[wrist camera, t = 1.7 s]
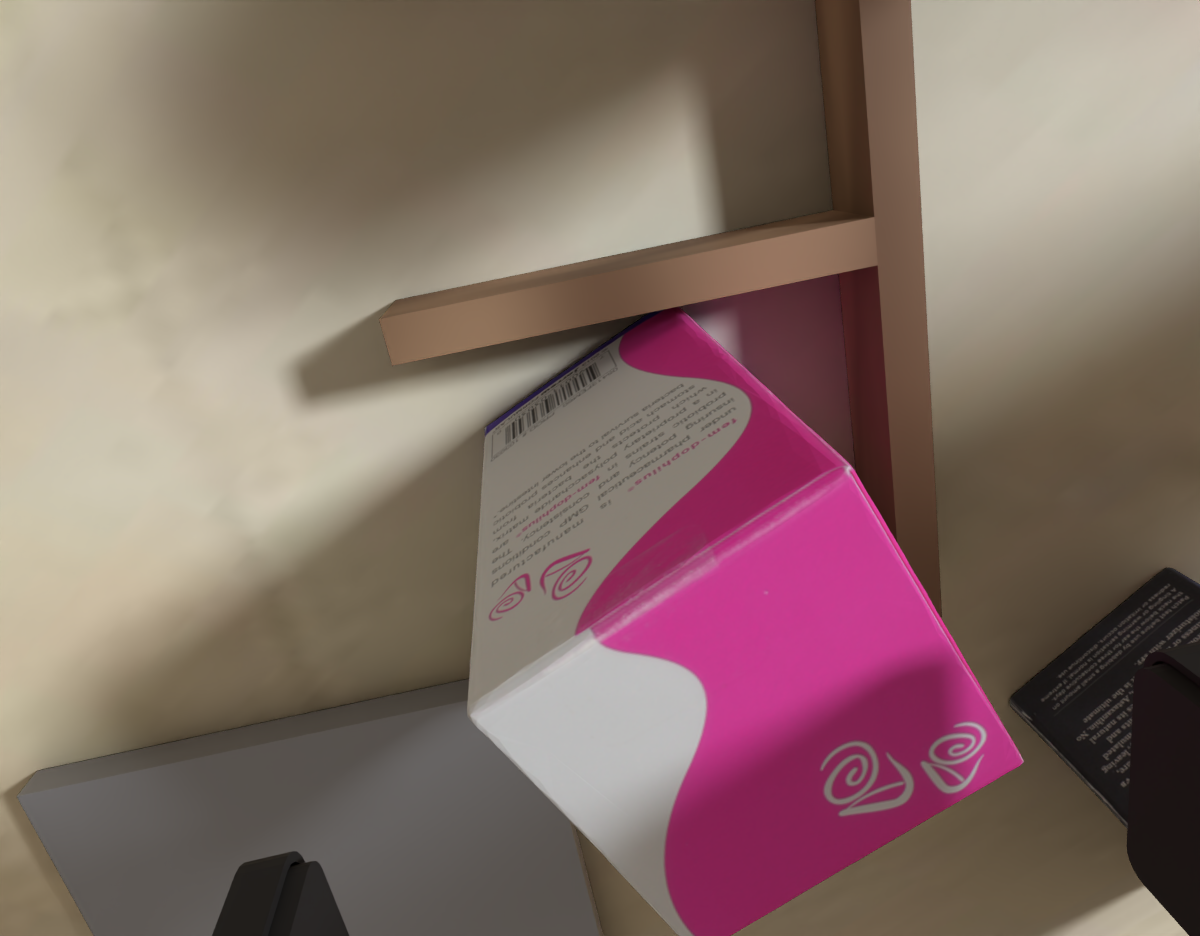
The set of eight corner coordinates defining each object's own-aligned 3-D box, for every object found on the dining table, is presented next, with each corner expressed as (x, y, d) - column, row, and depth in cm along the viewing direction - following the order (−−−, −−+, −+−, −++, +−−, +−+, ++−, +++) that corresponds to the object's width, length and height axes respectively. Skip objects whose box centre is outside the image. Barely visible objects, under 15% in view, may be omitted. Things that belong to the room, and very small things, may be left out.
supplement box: (611, 595, 23) (689, 977, 12) (479, 426, 21) (434, 706, 10) (793, 478, 22) (1043, 776, 12) (674, 291, 20) (843, 442, 10)
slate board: (533, 664, 24) (534, 686, 23) (623, 1011, 28) (626, 1039, 28) (36, 770, 23) (16, 796, 22) (213, 1101, 28) (203, 1133, 27)
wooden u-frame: (842, -266, 17) (893, -334, 14) (899, 571, 23) (941, 617, 21) (270, -153, 17) (229, -204, 14) (494, 657, 23) (491, 713, 21)
